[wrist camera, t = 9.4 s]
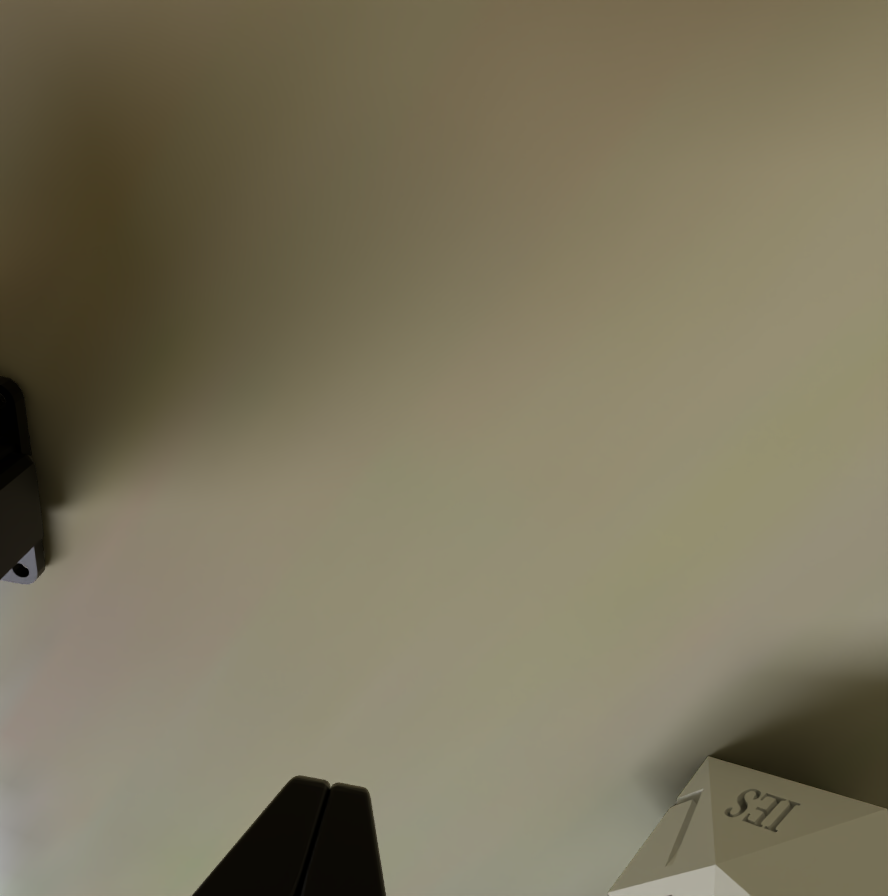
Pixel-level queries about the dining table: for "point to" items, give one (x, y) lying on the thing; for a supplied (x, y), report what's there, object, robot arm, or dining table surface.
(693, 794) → the die
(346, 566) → the dining table surface
